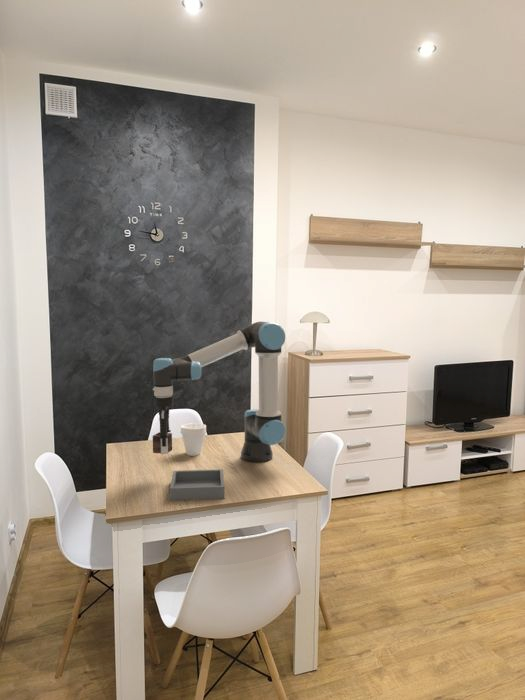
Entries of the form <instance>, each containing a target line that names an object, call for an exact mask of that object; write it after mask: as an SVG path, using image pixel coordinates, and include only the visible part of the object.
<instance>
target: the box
mask: <svg viewBox="0 0 525 700" xmlns="http://www.w3.org/2000/svg"><path fill="white" fill-rule="evenodd" d="M159 437H160V431H159V432H157V433H155V434H153V435H152V454H161V439H159ZM167 438H168V453H170V452H172V450H173V433H172V432H168V433H167Z"/></svg>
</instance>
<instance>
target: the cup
mask: <svg viewBox="0 0 525 700" xmlns="http://www.w3.org/2000/svg"><path fill="white" fill-rule="evenodd" d="M206 433H207V425H206V424H204V423H197V422H195V423H194V422H193V423H185V424H182V425H180V434H181V435H182V436H181V437H182V440H183V443H184V449H185V453H186V455H187V456H193V457H194V456H196V457H197V456H200V455H201V453H202V450H203V445H204V440H205V436H206Z"/></svg>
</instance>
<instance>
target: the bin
mask: <svg viewBox="0 0 525 700" xmlns="http://www.w3.org/2000/svg"><path fill="white" fill-rule="evenodd" d="M224 499H225V478H224V469H223V468H221V469H217V468H216V469H194V470H193V469H192V470H191V469H188V470H187V469H185V470H182V469H181V470H173V471H172V475H171V482H170V485H169V501H170V502H174V501H197V500H224Z"/></svg>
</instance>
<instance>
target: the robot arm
mask: <svg viewBox="0 0 525 700" xmlns="http://www.w3.org/2000/svg"><path fill="white" fill-rule="evenodd" d="M285 343H286V333H285V330H284V328H283V327H282V326H281V325H280V324H278V323H276V322H273V321H257V322H256V321H255V322H253V323H252V324H249V325H248V326H244V327H243V328H241V329H238V330H237V332H236V333H235V334H233V335H230V336H228V337H226V338H223V339H222V340H220V341H217V342H214V343H212V344H210V345H207V346H205V347H202V348H201V349H198V350H196V351H193V352H192V353H190V354H186V355H184V356H182V357H177V358H174V359H172V358H169V357H160V358H159V357H158V358H155V359H154V360H153V367H152V368H153V369H152V373H153V387H152V391H153V395H154V406H155V407H157V408H160V409H158V417H159V432H160V437H159V439H161V453H160V454H161V455H169V452H168V438H167V433H172V432H171V429H170V420H169V419H170V408H169V407H171V406H173V405H174V397H173V395H174V386H173V385H174V383H173V382H177V381H195V380H199V379H200V378H201V377H202V373H203V371H202V368H203V367H206V366H208V365H209V364H211V363H212V364H213V363H215V362H217V361H219V360H221V359H223V358H226V357H229V356H230V355H232V354H235V353H236V352H239V351H241V350H245V351H247V350H249V349H251V348H254V353H255V354H256V356H257V357H258V408H257V409H256V408H254V409H247V410H246V411H245V412H244V418H243V419H244V443H243V446H242V448H241V451H240V459H241V460H243V461H245V462H252V463H263V462H268V461H271V460H273V458H272V457H273V454H274V453H273V450H272V446H274V445H275V446H276V445H277V444H279V443H280V442H281V441H282V440H283V439H284V437H285V435H286V426H285V423H283V422H282V412H281V410H279V356H280V355H281V354H282V347H283V345H284V344H285ZM270 459H271V460H270ZM267 460H268V461H267ZM262 461H263V462H262Z"/></svg>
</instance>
